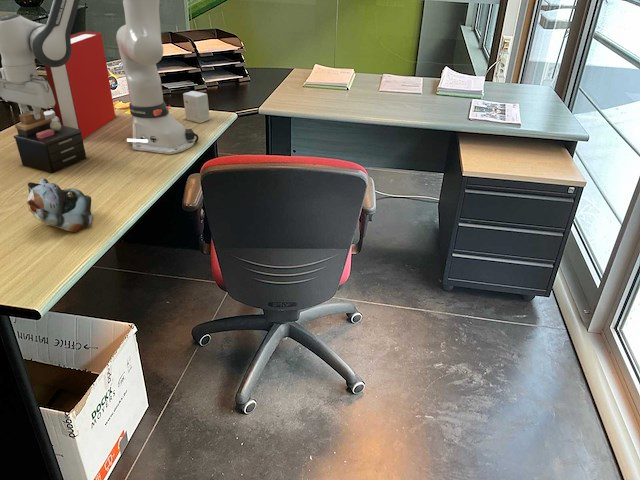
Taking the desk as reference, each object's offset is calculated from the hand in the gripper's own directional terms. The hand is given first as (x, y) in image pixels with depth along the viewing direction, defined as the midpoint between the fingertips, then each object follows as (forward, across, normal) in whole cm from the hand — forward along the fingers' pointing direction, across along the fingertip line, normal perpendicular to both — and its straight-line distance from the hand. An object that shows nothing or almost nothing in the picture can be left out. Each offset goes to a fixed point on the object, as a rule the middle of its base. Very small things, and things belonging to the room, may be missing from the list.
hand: (32, 117), depth 169 cm
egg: (+4, -5, -3) cm, 8 cm away
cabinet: (+14, -4, -1) cm, 15 cm away
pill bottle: (+14, +12, -17) cm, 25 cm away
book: (+15, +12, -32) cm, 37 cm away
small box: (+15, -18, -59) cm, 63 cm away
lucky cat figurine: (+15, -40, +27) cm, 50 cm away
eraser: (+4, -6, +2) cm, 8 cm away
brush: (+4, 0, 0) cm, 4 cm away
